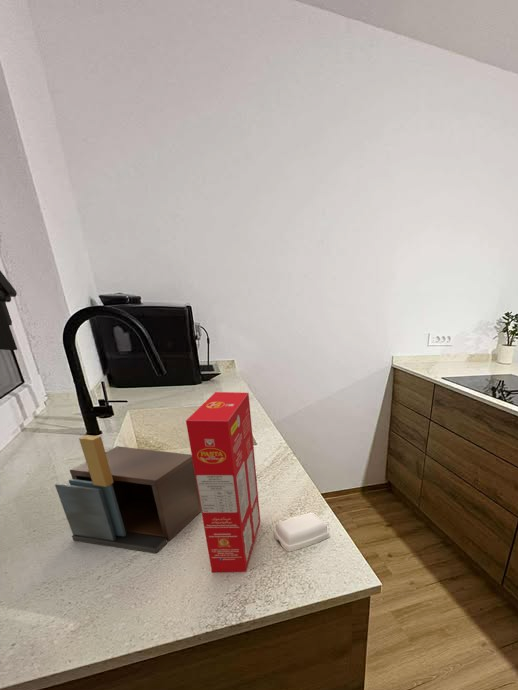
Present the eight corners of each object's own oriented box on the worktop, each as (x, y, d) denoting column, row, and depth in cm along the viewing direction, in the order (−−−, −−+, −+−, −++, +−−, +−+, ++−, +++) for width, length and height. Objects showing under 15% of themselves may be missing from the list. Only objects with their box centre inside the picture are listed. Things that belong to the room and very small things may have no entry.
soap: (287, 553, 66) (286, 539, 65) (271, 534, 71) (270, 520, 70) (332, 537, 71) (332, 523, 69) (314, 519, 76) (314, 507, 74)
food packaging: (232, 521, 74) (215, 392, 63) (260, 521, 74) (248, 392, 63) (211, 572, 61) (185, 420, 50) (245, 571, 61) (227, 421, 50)
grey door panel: (83, 532, 67) (49, 435, 59) (90, 527, 68) (58, 431, 60) (122, 538, 66) (93, 439, 58) (128, 533, 67) (101, 436, 59)
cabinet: (73, 540, 67) (50, 478, 61) (131, 500, 80) (117, 446, 74) (156, 553, 65) (140, 490, 59) (203, 509, 77) (193, 454, 72)
